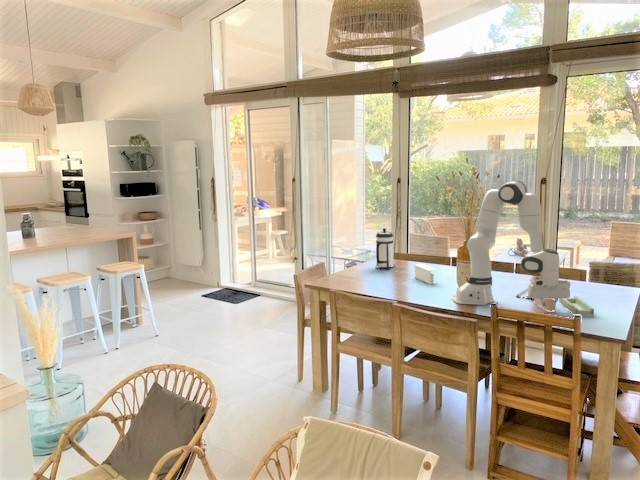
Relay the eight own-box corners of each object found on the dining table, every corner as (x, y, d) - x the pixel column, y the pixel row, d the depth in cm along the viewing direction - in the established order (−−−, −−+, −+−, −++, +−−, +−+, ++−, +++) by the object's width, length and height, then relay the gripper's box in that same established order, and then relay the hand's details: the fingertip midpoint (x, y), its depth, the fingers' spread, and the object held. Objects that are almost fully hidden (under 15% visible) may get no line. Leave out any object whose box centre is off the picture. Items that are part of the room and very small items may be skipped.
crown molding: (535, 286, 302) (535, 280, 302) (555, 289, 294) (555, 283, 294) (515, 297, 280) (515, 291, 279) (537, 301, 272) (537, 295, 271)
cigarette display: (436, 283, 316) (436, 269, 314) (429, 284, 314) (429, 270, 313) (421, 276, 335) (421, 263, 333) (414, 277, 333) (413, 264, 332)
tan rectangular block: (548, 312, 251) (548, 301, 250) (534, 303, 267) (535, 293, 266) (555, 312, 251) (555, 301, 250) (541, 303, 267) (541, 292, 266)
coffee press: (371, 266, 372) (370, 227, 367) (392, 264, 373) (391, 226, 368) (376, 271, 355) (376, 231, 350) (398, 270, 356) (397, 229, 351)
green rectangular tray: (574, 316, 244) (574, 308, 243) (559, 303, 265) (559, 296, 265) (593, 316, 243) (594, 308, 242) (576, 303, 264) (576, 296, 264)
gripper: (568, 278, 254) (567, 304, 256) (527, 279, 257) (526, 304, 259) (572, 281, 248) (571, 307, 250) (530, 282, 251) (530, 307, 253)
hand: (548, 306), depth 255 cm, fingers closed on tan rectangular block, 4 cm apart
